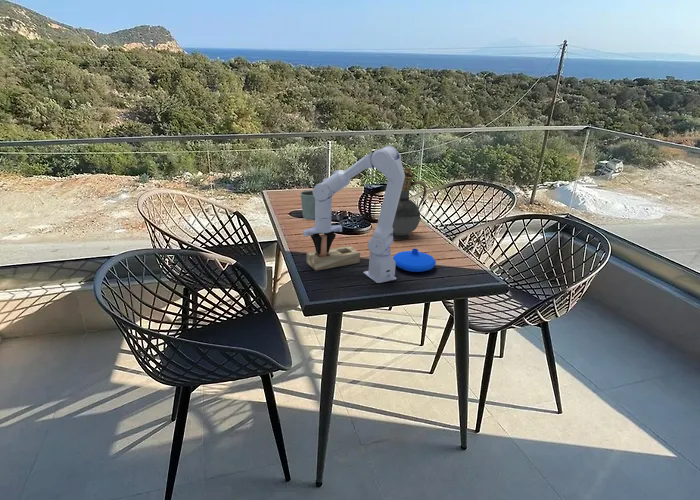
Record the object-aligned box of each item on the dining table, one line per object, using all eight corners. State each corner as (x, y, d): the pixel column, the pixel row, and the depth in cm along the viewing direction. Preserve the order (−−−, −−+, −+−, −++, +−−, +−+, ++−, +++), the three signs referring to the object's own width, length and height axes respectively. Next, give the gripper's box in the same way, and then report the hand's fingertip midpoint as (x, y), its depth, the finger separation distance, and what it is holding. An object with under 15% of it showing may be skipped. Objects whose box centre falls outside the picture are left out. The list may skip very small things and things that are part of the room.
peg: (327, 260, 163) (328, 236, 160) (320, 261, 162) (320, 237, 159) (324, 257, 166) (325, 234, 162) (316, 258, 164) (317, 235, 161)
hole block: (359, 262, 168) (360, 252, 166) (315, 270, 159) (316, 260, 158) (349, 255, 174) (349, 245, 173) (306, 262, 166) (306, 252, 164)
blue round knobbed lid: (401, 278, 157) (403, 259, 154) (385, 261, 171) (387, 243, 168) (442, 274, 161) (444, 256, 158) (423, 258, 175) (425, 241, 173)
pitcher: (378, 234, 199) (382, 166, 188) (415, 230, 206) (421, 165, 195) (389, 242, 190) (394, 171, 179) (428, 238, 197) (435, 169, 186)
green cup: (320, 220, 215) (320, 195, 211) (299, 219, 215) (299, 194, 211) (322, 214, 225) (322, 190, 220) (301, 213, 225) (301, 189, 220)
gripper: (336, 211, 165) (335, 245, 170) (299, 215, 158) (299, 251, 163) (345, 216, 159) (344, 252, 164) (308, 221, 152) (307, 258, 157)
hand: (322, 252), depth 163 cm, fingers closed on peg, 3 cm apart
